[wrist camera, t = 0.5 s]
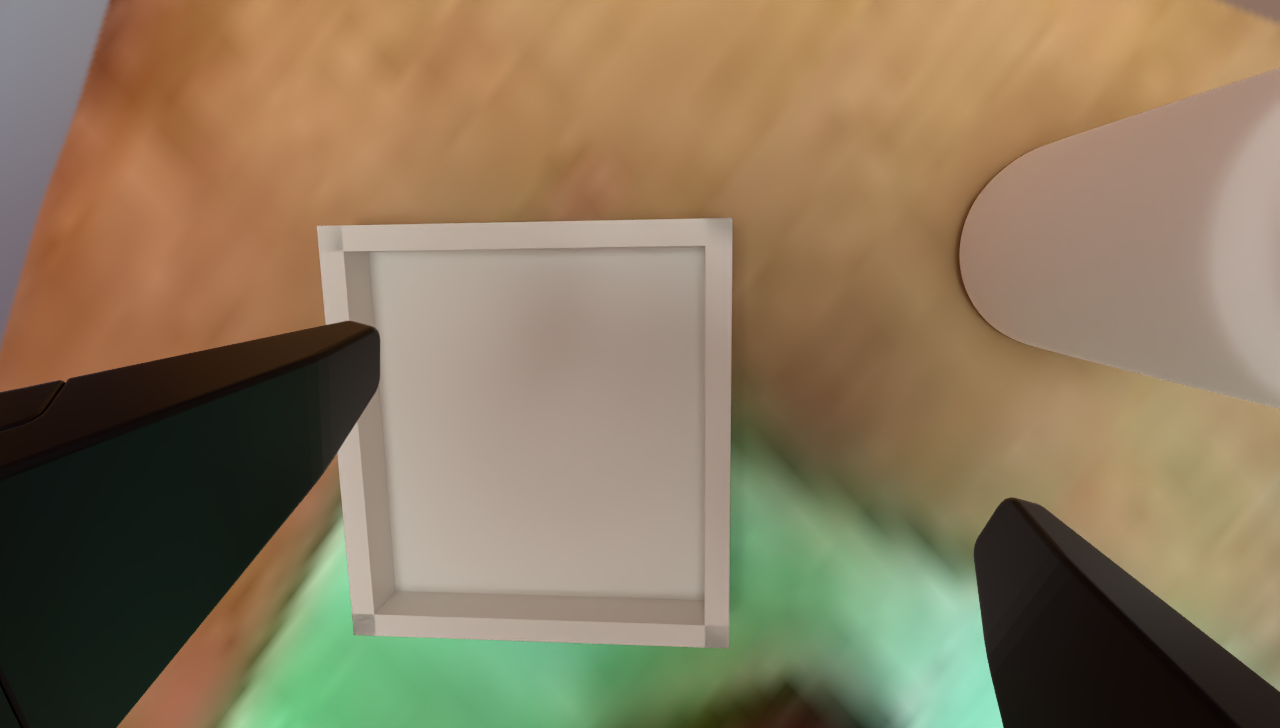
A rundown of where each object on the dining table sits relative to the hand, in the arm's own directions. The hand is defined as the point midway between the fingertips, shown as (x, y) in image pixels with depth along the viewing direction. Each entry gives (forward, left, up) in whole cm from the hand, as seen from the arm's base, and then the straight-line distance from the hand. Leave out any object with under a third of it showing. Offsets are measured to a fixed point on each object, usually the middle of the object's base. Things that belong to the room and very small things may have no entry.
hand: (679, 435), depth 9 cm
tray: (-3, +5, -13) cm, 15 cm away
